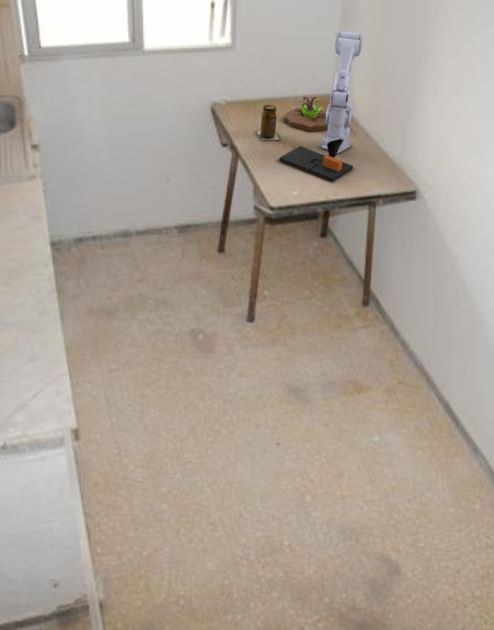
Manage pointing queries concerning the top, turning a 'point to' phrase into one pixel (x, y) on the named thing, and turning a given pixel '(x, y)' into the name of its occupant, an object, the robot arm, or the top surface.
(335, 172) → the charcoal pad
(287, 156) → the black pad
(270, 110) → the condiment
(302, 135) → the top surface
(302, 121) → the plant
